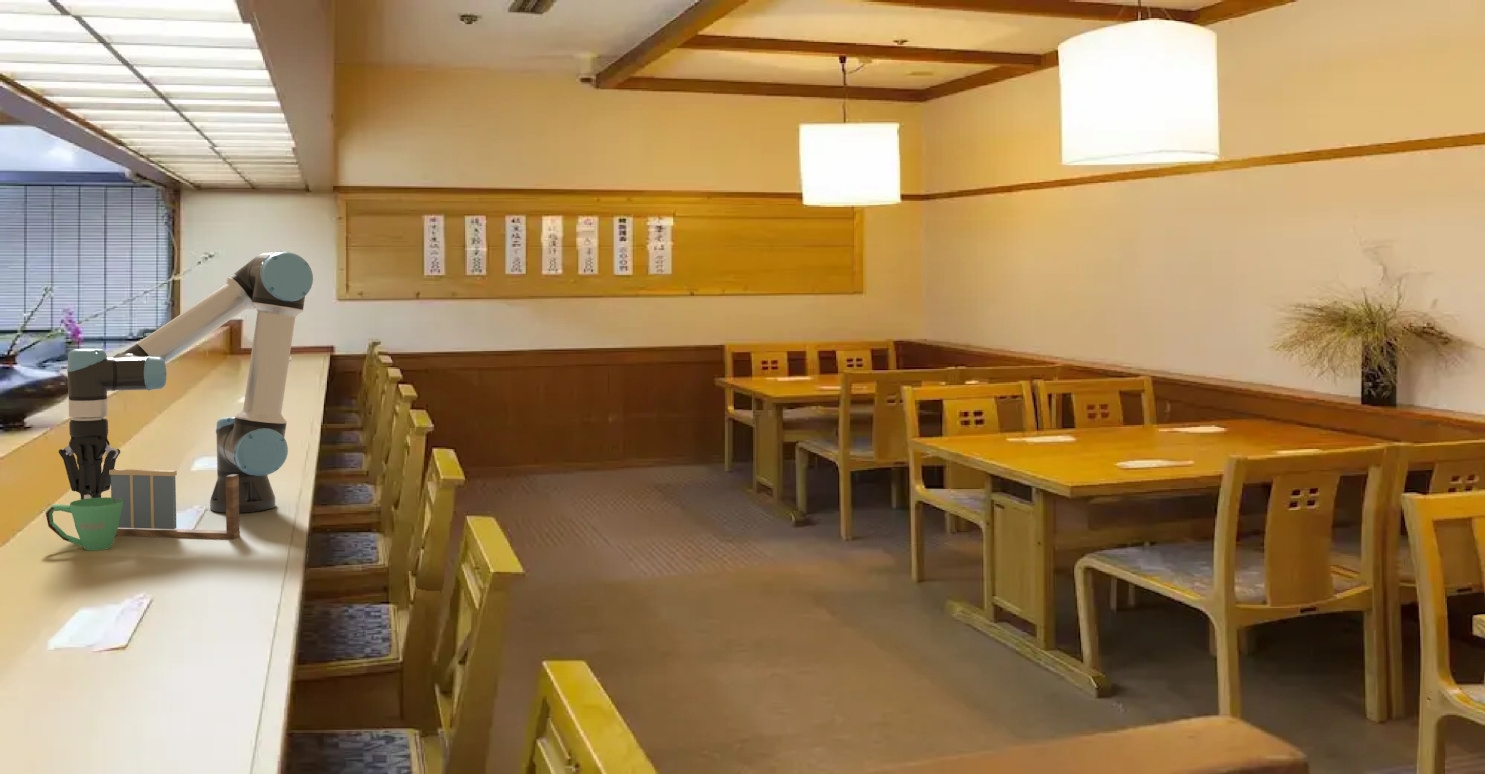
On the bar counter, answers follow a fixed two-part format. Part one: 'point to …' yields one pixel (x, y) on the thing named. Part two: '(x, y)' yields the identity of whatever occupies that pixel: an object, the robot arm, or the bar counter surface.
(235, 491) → the brown wooden rack
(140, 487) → the panel
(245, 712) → the bar counter surface
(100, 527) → the mug
